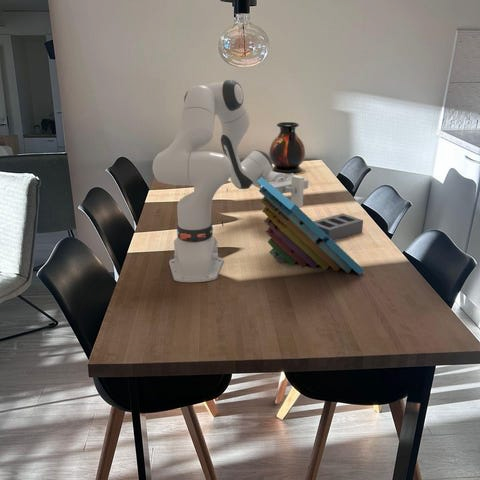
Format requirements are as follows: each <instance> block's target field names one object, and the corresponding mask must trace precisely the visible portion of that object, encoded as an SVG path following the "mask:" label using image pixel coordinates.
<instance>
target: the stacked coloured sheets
mask: <svg viewBox="0 0 480 480" xmlns="http://www.w3.org/2000/svg"><path fill="white" fill-rule="evenodd" d="M257 182H258V183H259V184H260V185H262V186H263V187H262V188H261V189H259V190H258V192H259V193H260V194H261V195H262V196H263V198H262V199H261V200H260V202H261V203H262V204H263V205H264V206H265V207H264V208H263V209H262V213H263V214H264V215H265V216H266V218H265V219H264V220H263V222H264V223H265V224H266V225H267V226H268V228H267V229H266V230H265V232H266V234H267V235H268V236H269V237H270V238H269V239H268V240H267V243H268V244H269V245H270V247H271V250H270V251H269V254H270V256H271V257H273V258H274V259H275V260H276V261H277V262H278V263H279V264H280V265H282V264H283V263H284V262H285V261H286V262H288V263H289V264H290V265H291V266H293V265H294V264H295V263H298V264H299V265H300V266H301V267H302V268H304V267H305V266H306V264H308V265H309V266H310V267H311V268H313V269H315V268H316V267H317V266H318V265H319V266H320V267H321V268H322V269H323V270H324V271H326V270H327V269H328V268H329V267H330V268H331V269H332V270H333V271H335V272H338V271H339V270H340V269H343V271H345V272H346V273H347V274H349V273H350V272H351V271H352V270H353V271H354V272H355V273H357V274H358V275H359V276H361V274H362V273H363V272H364V271H365V270H364V269H363V267H361V265H359V264H358V263H357V262H356V261H355V260H354V259H353V258H352V257H351V256H350V255H349V254H348V253H347V252H346V251H345V250H344V249H342V247H340V245H338V244H337V242H336V241H335V240H334V241H333V240H332V239H331V238H330V237H329V236H328V235H327V234H326V233H325V232H324V231H323V230H321V229H320V228H319V227H318V226H317V225H316V224H315V223H314V222H313V220H312V219H311V218H310V217H309V216H308V215H307V214H306V213H305V212H304V211H303V210H302V209H301V208H298V207H297V206H296V205H295V204H294V203H293V202H292V201H291V199H290V198H288V197H287V196H286V195H284V193H283V194H282V193H281V192H279V191H278V190H277V189H276V188H274V187H273V186H272V185H271V184H269V183H268V182H267V181H266V180H265V179H263V178H262V177H260V178H259V179H258V181H257Z"/></svg>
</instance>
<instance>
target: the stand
mask: <svg viewBox="0 0 480 480" xmlns="http://www.w3.org/2000/svg"><path fill="white" fill-rule="evenodd" d="M312 221H313V220H312ZM313 222H314V223H315V224H316V225H317V226H318V227H319V228H320V229H321V230H323V231H324V232H325V233H326V234H327V235H328V236H329V237H330V238H331V239H332V240H333V241H334V242H335V241H337V240H341V239H344V238H347V237H350V236H353V235H356V234H360V233H362V232H363V226H364V220H363V219H360V218H358V217H354V216H352V215H349V214H347V213H339V214H334V215H331V216H328V217H325V218H320V219H315V220H314V221H313Z"/></svg>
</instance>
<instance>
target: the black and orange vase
mask: <svg viewBox="0 0 480 480" xmlns="http://www.w3.org/2000/svg"><path fill="white" fill-rule="evenodd" d="M299 126H300V124H299V123H297V122H291V121H290V122H289V121H288V122H287V121H284V122H278V123H277V124H276V127H278V128H279V133H278V135H277V136H276V137H275V138H274V139H273V141H271V145H270V147H269V152H268V153H269V154H268V156H269V157H270V159H271V162H272V165H274V166H273V170H272V171H273V172H277V173H293V174H295V173H298V172H300V171H301V166H300V165H302V163H303V162H304V161H305V158H306V150H305V149H306V148H305V145H304V143H303V141H302V140H301V138H300V137H299V136H298V135H297V133H296V128H297V127H299Z"/></svg>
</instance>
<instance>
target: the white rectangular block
mask: <svg viewBox="0 0 480 480" xmlns="http://www.w3.org/2000/svg"><path fill="white" fill-rule="evenodd" d="M304 178H305V177H303V176H300V175H297V174H295V175H294V176H292V182H291V188H296V189H297V193H290V201H292V202H293V203H294V204H295V205H296V206H297V207H298V208H299V209H301V208H303V207H304V190H305V189H304Z"/></svg>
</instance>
